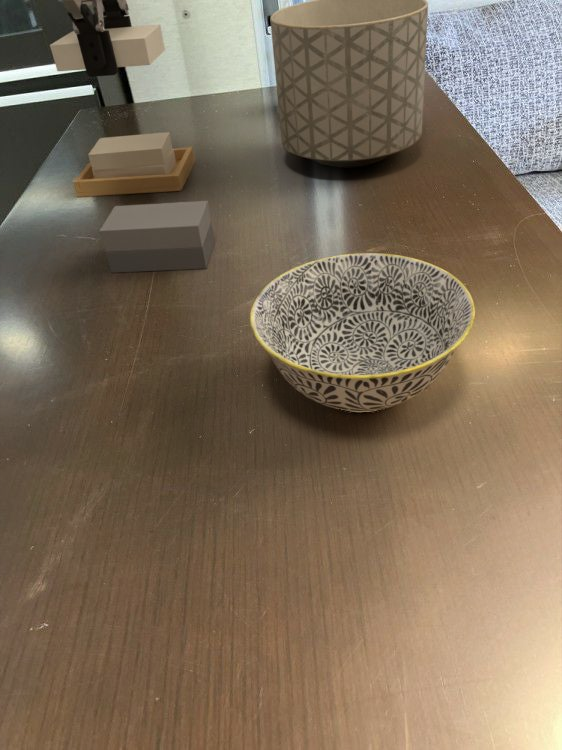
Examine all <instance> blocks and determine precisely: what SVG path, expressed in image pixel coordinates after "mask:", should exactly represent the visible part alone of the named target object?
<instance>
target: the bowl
mask: <svg viewBox="0 0 562 750" xmlns="http://www.w3.org/2000/svg"><path fill="white" fill-rule="evenodd" d="M249 313H250V315H249V323H250V327H251V331H252V333H253V335H254V337H255V339H256V340H257V342H258V344H260V346H261V347H262V348H263V349H264V350H265V351H266V353H267V354H268V355H269V357H270V358H271V360H272V362H273V363H274V366H275V367H276V368H277V371H279V373H280V374H281V375H282V377H283V378H284V379H285V380H286V381H287V382H288V383H289V385H290V386H291V387H292V388H294V389H295V390H296V391H298V392H299V393H300V394H302V395H303V396H305V397H306V398H307V399H310V400H311V401H313V402H315V403H318V404H320V405H323V406H324V407H328V408H332V409H336V410H339V409H341V410H340V411H342V410H347V411H374V410H380V409H383V410H386V409H389V408H392V407H395V406H398V405H401V404H403V403H406V402H407V401H410V400H411V399H413V398H415V397H416V396H418V395H419V394H421V393H422V392H424V391H425V390H426V389H428V388H429V387H430V386H431V385H432V384H433V383H434V381H436V380H437V379H438V378H439V376H440V375H441V374H442V372H443V371H444V369H445V368H446V366H447V365H448V363H449V362H450V360H451V358H452V357H453V355H454V353H455V351H457V348H458V347H459V346H460V345H461V344H462V343H463V342H464V340H465V339H466V338H467V337H468V334H469V333H470V331H471V330H472V327H473V325H474V322H475V316H476V308H475V303H474V300H473V297H472V294H471V293H470V291H469V290H468V288H467V287H466V285H465V284H464V283H463V282H461V281H460V280H459V279H458V278H457V277H456V276H455V275H453V274H452V273H450V272H449V271H447V270H445V269H443V268H441V267H440V266H437V265H435V264H432V263H430V262H427V261H424V260H422V259H418V258H415V257H414V258H413V257H410V256H404V255H398V254H391V253H382V252H381V253H379V252H365V253H364V252H363V253H347V254H340V255H339V254H338V255H334V256H328V257H323V258H319V259H316V260H312V261H309V262H306V263H303V264H300V265H297V266H295V267H293V268H291V269H289V270H287V271H286V272H283V273H282V274H280V275H278V276H277V277H275V278H274V279H273V280H271V281H269V282H268V284H267V285H265V286H264V287H263V288H262V289H261V290H260V292H259V293H258V295H257V296H256V298H255V299H254V302H253V303H252V306H251V309H250V312H249ZM385 408H386V409H385Z"/></svg>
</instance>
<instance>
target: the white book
mask: <svg viewBox="0 0 562 750" xmlns="http://www.w3.org/2000/svg"><path fill="white" fill-rule="evenodd" d="M105 30H109V33H110V38H111V42H112V46H113V51H114V55H115V59H116V64H117V68H125V67H127V68H128V67H140V66H151V64H152V63H154V61H156V59H158V57H160V56H161V54H163V53H164V51H166V48H165V42H164V36H163V32H162V26H161V24H149V25H139V26H138V25H137V26H132V27H122V28H110V29H104V31H105ZM49 48H50V50H51V54H52V57H53V61H54V65H55V68H56V71H57V72H70V71H71V72H72V71H81V70H82V71H83V70H85V71H86V69H85V65H84V61H83V57H82V54H81V50H80V46H79V42H78V38H77V34H75V32H74V30H73V31H70V32H69V33H67V34H66V35H64V36H62V37H61V38H59V39H58V40H56V41H54V42H53V43H51V44H49Z"/></svg>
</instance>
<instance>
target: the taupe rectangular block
mask: <svg viewBox="0 0 562 750" xmlns="http://www.w3.org/2000/svg"><path fill="white" fill-rule="evenodd" d="M173 148H174V147H173V144H172V138H171V133H170V131H166V132H165V131H164V132H153V133H143V134H132V135H131V134H130V135H122V136H121V135H120V136H109V137H108V136H107V137H99V139H98V140H97V141H96V142H95V144H94V146H93V147H92V149H90V152H89V153H88V154H87V156H88V159H89V162H90V163H91V166H92V172H93V175H94V179H99V178H115V177H130V176H146V175H162V174H171V172H172V171H173V169H174V167H175V165H176V159H175V154H174V149H173Z"/></svg>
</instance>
